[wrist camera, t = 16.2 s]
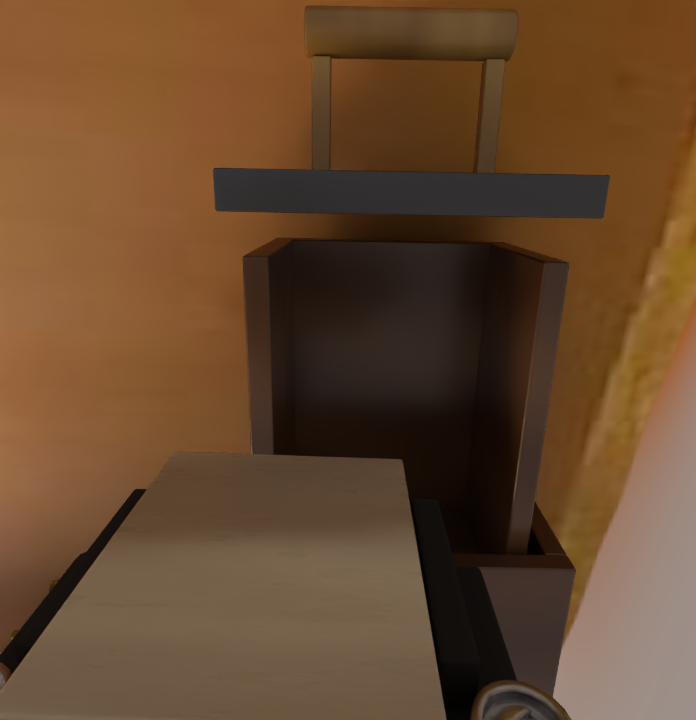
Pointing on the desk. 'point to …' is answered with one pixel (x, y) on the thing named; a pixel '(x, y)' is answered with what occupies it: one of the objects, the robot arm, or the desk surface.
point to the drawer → (410, 296)
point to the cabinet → (530, 601)
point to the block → (246, 602)
